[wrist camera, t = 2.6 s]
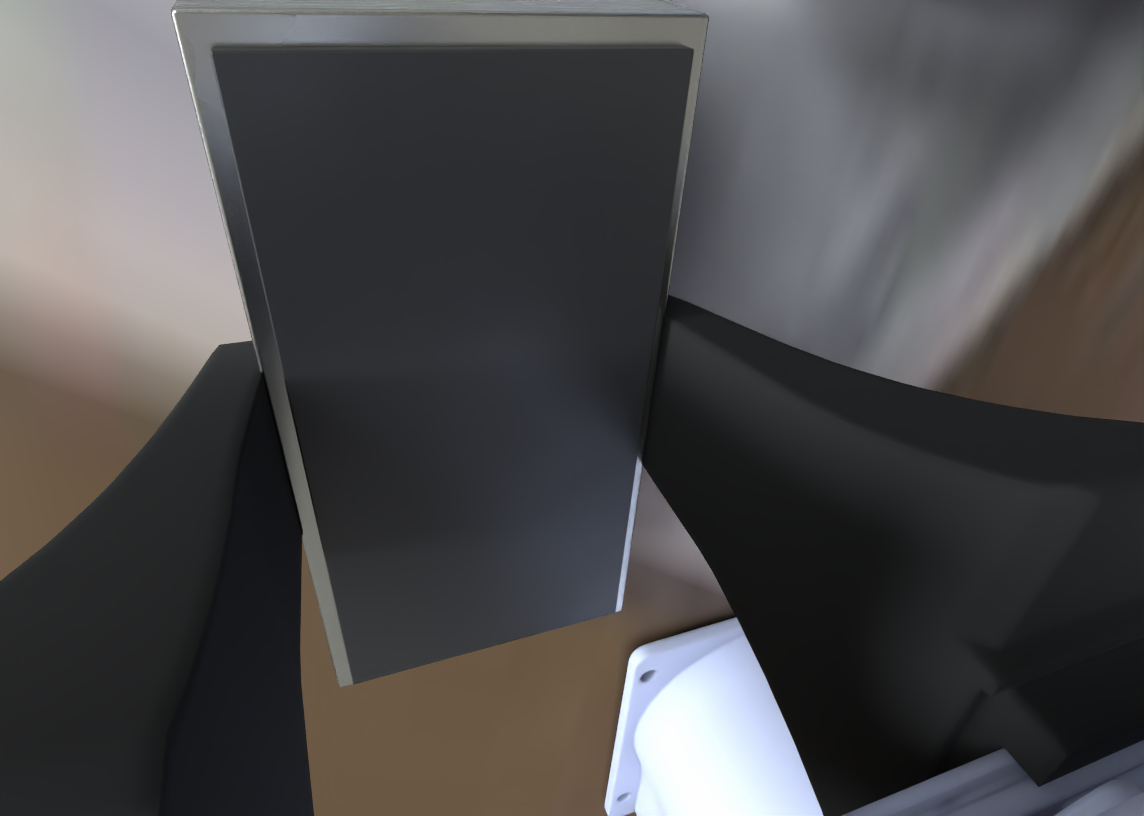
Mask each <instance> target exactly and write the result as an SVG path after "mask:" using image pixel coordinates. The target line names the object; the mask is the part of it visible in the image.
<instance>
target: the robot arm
mask: <svg viewBox="0 0 1144 816" xmlns="http://www.w3.org/2000/svg"><path fill="white" fill-rule="evenodd" d="M643 466H644V468H645V469H646V471H647V472H648V474H649V475H650V477H651V478H652V480H653V481H654V483H655V484H656V486H657V487H658V489H659V490H660V492H661V493H662V495H663V496H664V498H665V499H666V501H667V502H668V504H669V505H670V507H671V508H672V510H673V511H674V513H675V514H676V516H677V517H678V519H679V520H680V522H681V523H682V525H683V526H684V527H685V529H686V530H687V532H688V533H689V535H690V536H691V538H692V539H693V541H694V542H695V544H696V545H697V547H698V548H699V550H700V552H701V553H702V555H703V556H704V558H705V560H706V561H707V563H708V565H709V566H710V568H711V570H712V571H713V573H714V575H715V577H716V579H717V581H718V583H719V585H720V587H721V589H722V590H723V592H724V594H725V596H726V598H727V600H728V602H729V604H730V606H731V608H732V610H733V612H734V614H735V616H736V617H735V618H732V619H728V620H725V621H722V622H718V623H715V624H711V625H708V626H705V627H701V628H698V629H695V630H691V631H688V632H684V633H681V634H678V635H674V636H671V637H667V638H664V639H661V640H657V641H654V642H650V643H647V644H644V645H642V646H640V647H639V648H637V649H636V650H635V651H634V652H633V653H632V654H631V656H630V659H629V663H628V669H627V675H626V681H625V687H624V692H623V698H622V704H621V710H620V716H619V722H618V728H617V734H616V740H615V746H614V752H613V758H612V764H611V770H610V776H609V782H608V788H607V794H606V799H605V805H604V806H605V809H606V812H607V814H608V816H624V815H627V814H630V813H632V812H636V814H637V816H1144V423H1141V422H1131V421H1121V420H1110V419H1100V418H1089V417H1079V416H1071V415H1063V414H1057V413H1050V412H1043V411H1037V410H1030V409H1023V408H1017V407H1010V406H1005V405H1000V404H994V403H989V402H983V401H978V400H973V399H968V398H964V397H959V396H955V395H950V394H946V393H941V392H937V391H932V390H928V389H923V388H919V387H916V386H912V385H908V384H904V383H900V382H896V381H893V380H890V379H886V378H883V377H880V376H876V375H873V374H869V373H866V372H863V371H859V370H856V369H853V368H850V367H847V366H844V365H841V364H838V363H835V362H832V361H829V360H826V359H824V358H821V357H818V356H816V355H813V354H810V353H808V352H805V351H803V350H800V349H797V348H795V347H792V346H789V345H787V344H785V343H782V342H780V341H777V340H775V339H772V338H770V337H767V336H765V335H763V334H760V333H758V332H756V331H753V330H751V329H749V328H746V327H744V326H742V325H739V324H737V323H735V322H733V321H730V320H728V319H726V318H723V317H721V316H719V315H717V314H714V313H712V312H710V311H707V310H705V309H703V308H700V307H698V306H696V305H693V304H691V303H688V302H686V301H683V300H681V299H678V298H676V297H673V296H670V295H668V299H667V306H666V313H665V317H664V324H663V331H662V338H661V344H660V351H659V358H658V365H657V372H656V378H655V385H654V392H653V399H652V405H651V412H650V419H649V426H648V433H647V439H646V446H645V453H644V460H643ZM301 563H302V534H301V530H300V526H299V522H298V518H297V514H296V510H295V506H294V502H293V498H292V494H291V490H290V485H289V481H288V477H287V473H286V469H285V465H284V461H283V457H282V453H281V449H280V445H279V441H278V437H277V433H276V429H275V425H274V421H273V417H272V413H271V409H270V405H269V401H268V397H267V393H266V389H265V385H264V380H263V376H262V372H260V369H259V365H258V361H257V357H256V353H255V349H254V345H253V341H246V342H238V343H230V344H222V345H219V346H218V347H217V348H216V350H215V351H214V352H213V353H212V355H211V356H210V357H209V359H208V360H207V362H206V363H205V365H204V366H203V368H202V369H201V371H200V372H199V374H198V375H197V377H196V378H195V379H194V381H193V382H192V384H191V385H190V387H189V388H188V389H187V391H186V392H185V394H184V395H183V396H182V398H181V399H180V401H179V402H178V403H177V405H176V406H175V407H174V409H173V410H172V411H171V413H170V414H169V415H168V416H167V418H166V419H165V420H164V422H163V423H162V424H161V426H160V427H159V428H158V430H157V431H156V432H155V433H154V435H153V436H152V437H151V438H150V440H149V441H148V442H147V443H146V444H145V446H144V447H143V448H142V449H141V450H140V451H139V452H138V454H137V455H136V456H135V457H134V458H133V459H132V460H131V462H130V463H129V464H128V465H127V466H126V467H125V468H124V470H123V471H122V472H121V473H120V474H119V475H118V476H117V478H116V479H115V480H114V481H113V482H112V483H111V484H110V485H109V486H108V487H107V488H106V489H105V490H104V491H103V492H102V493H101V494H100V495H99V496H98V497H97V498H96V499H95V500H94V501H93V502H92V503H91V504H90V505H89V506H88V507H87V508H86V509H85V510H84V511H83V512H82V513H80V514H79V515H78V516H77V517H76V518H75V519H74V520H73V521H72V522H71V523H70V524H69V525H67V526H66V527H65V528H64V529H63V530H62V531H61V532H60V533H59V534H58V535H57V536H55V537H54V538H53V539H52V540H51V541H50V542H48V543H47V544H46V545H45V546H44V547H43V548H41V549H40V550H39V551H38V552H36V553H35V554H34V555H33V556H31V557H30V558H29V559H28V560H26V561H25V562H24V563H23V564H21V565H20V566H19V567H17V568H16V569H15V570H14V571H12V572H11V573H10V574H9V575H7V576H6V577H5V578H4V579H2V580H1V581H0V816H314V811H313V801H312V791H311V781H310V771H309V761H308V752H307V741H306V730H305V719H304V708H303V698H302V687H301V666H300V621H301Z"/></svg>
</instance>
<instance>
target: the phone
mask: <svg viewBox="0 0 1144 816" xmlns="http://www.w3.org/2000/svg"><path fill="white" fill-rule="evenodd" d="M171 16H172V20H173V24H174V28H175V32H176V36H177V40H178V44H179V48H180V52H181V56H182V60H183V64H184V68H185V72H186V76H187V80H188V84H189V88H190V92H191V96H192V100H193V104H194V108H195V112H196V116H197V120H198V124H199V128H200V132H201V136H202V140H203V144H204V148H205V152H206V157H207V161H208V165H209V169H210V173H211V177H212V181H213V185H214V189H215V193H216V197H217V201H218V205H219V209H220V213H221V217H222V221H223V225H224V229H225V233H226V237H227V241H228V245H229V249H230V253H231V257H232V261H233V265H234V269H235V273H236V277H237V281H238V285H239V289H240V293H241V297H242V301H243V305H244V309H245V313H246V317H247V321H248V325H249V329H250V333H251V337H252V341H253V345H254V349H255V353H256V357H257V361H258V365H259V369H260V372H262V376H263V380H264V385H265V389H266V393H267V397H268V401H269V405H270V409H271V413H272V417H273V421H274V425H275V429H276V433H277V437H278V441H279V445H280V449H281V453H282V457H283V461H284V465H285V469H286V473H287V477H288V481H289V485H290V490H291V494H292V498H293V502H294V506H295V510H296V514H297V518H298V522H299V526H300V530H301V534H302V542H303V546H304V550H305V554H306V558H307V562H308V566H309V570H310V574H311V578H312V582H313V586H314V590H315V594H316V598H317V603H318V607H319V611H320V615H321V619H322V623H323V627H324V631H325V635H326V639H327V643H328V647H329V651H330V655H331V659H332V663H333V667H334V671H335V675H336V679H337V683H338V686H339V687H345V686H348V685H352V684H357V683H361V682H364V681H368V680H372V679H375V678H379V677H382V676H386V675H390V674H393V673H397V672H401V671H404V670H408V669H412V668H415V667H419V666H422V665H426V664H430V663H433V662H437V661H441V660H444V659H448V658H452V657H455V656H459V655H462V654H466V653H470V652H473V651H477V650H481V649H484V648H488V647H492V646H495V645H499V644H502V643H506V642H510V641H513V640H517V639H521V638H524V637H528V636H532V635H535V634H539V633H543V632H546V631H550V630H553V629H557V628H561V627H564V626H568V625H572V624H575V623H579V622H583V621H586V620H590V619H593V618H597V617H601V616H604V615H608V614H612V613H615V612H618V611H620V610H622V604H623V597H624V590H625V584H626V577H627V570H628V563H629V556H630V550H631V543H632V536H633V529H634V523H635V516H636V509H637V502H638V496H639V489H640V482H641V475H642V468H643V460H644V453H645V446H646V439H647V433H648V426H649V419H650V412H651V405H652V399H653V392H654V385H655V378H656V372H657V365H658V358H659V351H660V344H661V338H662V331H663V324H664V317H665V313H666V306H667V299H668V292H669V285H670V279H671V272H672V265H673V258H674V252H675V245H676V238H677V231H678V225H679V218H680V211H681V204H682V197H683V191H684V184H685V177H686V170H687V164H688V157H689V150H690V143H691V136H692V130H693V123H694V116H695V109H696V103H697V96H698V89H699V82H700V75H701V69H702V62H703V55H704V48H705V42H706V35H707V28H708V21H709V17H708V15H707V14H705V13H702V12H699V11H695V10H692V9H688V8H685V7H682V6H678V5H675V4H671V3H668V2H665V1H661V0H176V2H175V4H174V5H173V7H172V9H171Z"/></svg>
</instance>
